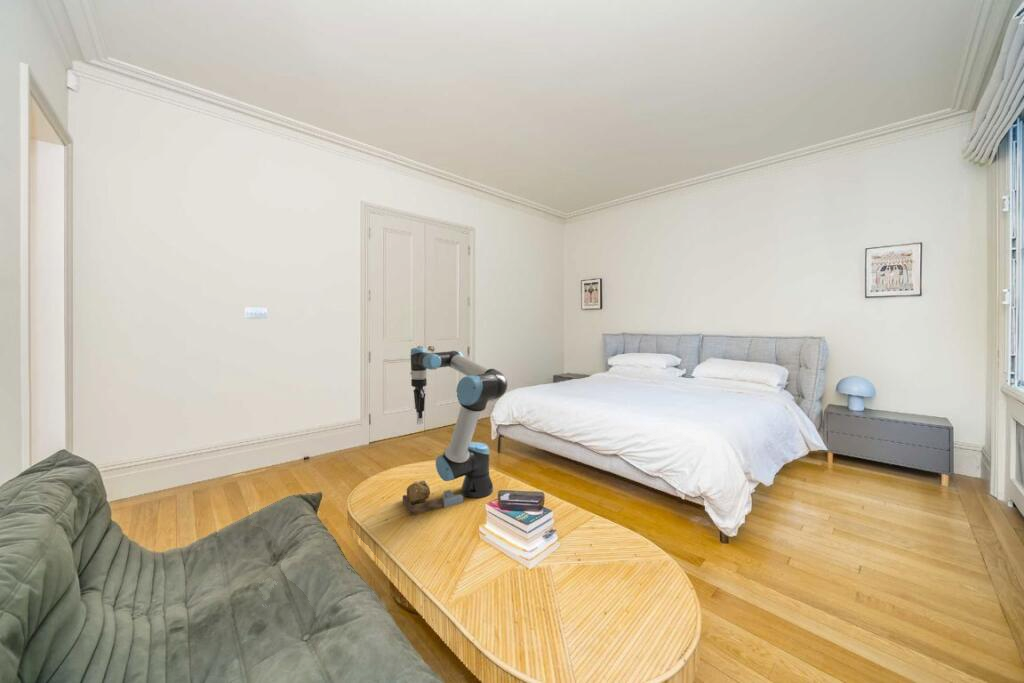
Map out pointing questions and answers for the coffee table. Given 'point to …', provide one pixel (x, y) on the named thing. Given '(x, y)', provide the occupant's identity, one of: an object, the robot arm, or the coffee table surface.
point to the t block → (452, 499)
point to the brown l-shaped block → (422, 505)
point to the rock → (418, 492)
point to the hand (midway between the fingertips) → (419, 423)
